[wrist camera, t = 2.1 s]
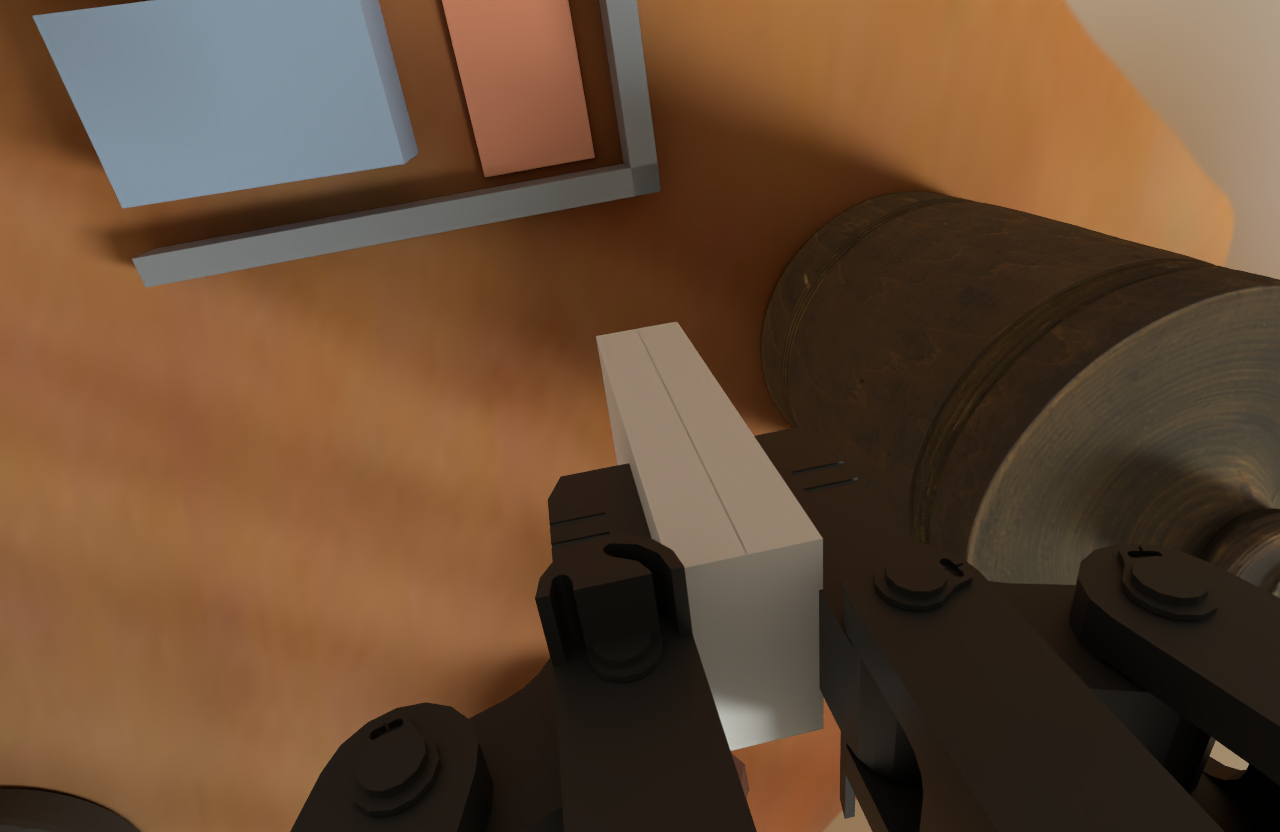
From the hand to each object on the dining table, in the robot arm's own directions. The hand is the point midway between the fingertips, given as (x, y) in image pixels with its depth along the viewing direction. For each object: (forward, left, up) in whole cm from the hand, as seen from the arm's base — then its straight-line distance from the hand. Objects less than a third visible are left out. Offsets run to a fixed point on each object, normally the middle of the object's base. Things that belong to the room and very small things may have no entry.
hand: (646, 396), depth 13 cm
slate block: (-11, +7, -22) cm, 25 cm away
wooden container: (+16, -9, -22) cm, 29 cm away
